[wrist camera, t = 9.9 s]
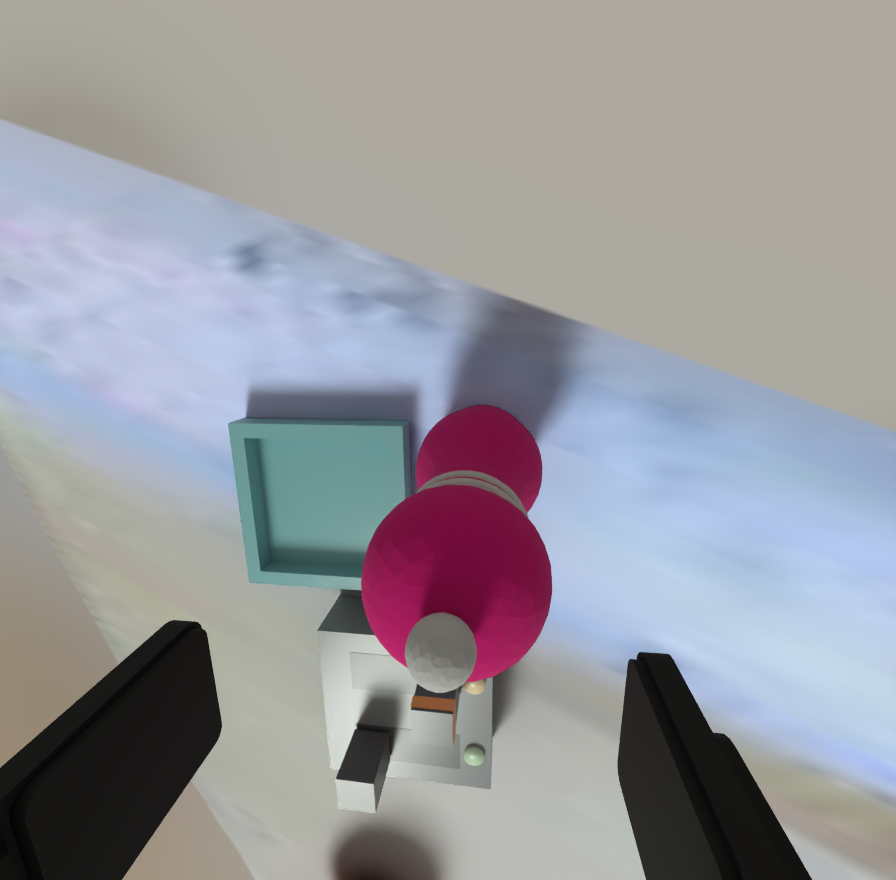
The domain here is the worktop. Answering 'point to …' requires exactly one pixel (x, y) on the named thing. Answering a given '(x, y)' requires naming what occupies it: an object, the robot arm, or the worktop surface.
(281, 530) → the tray
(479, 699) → the breaker panel
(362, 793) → the block
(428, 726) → the tagged breaker
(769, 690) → the worktop surface
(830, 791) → the worktop surface
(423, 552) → the pepper mill
